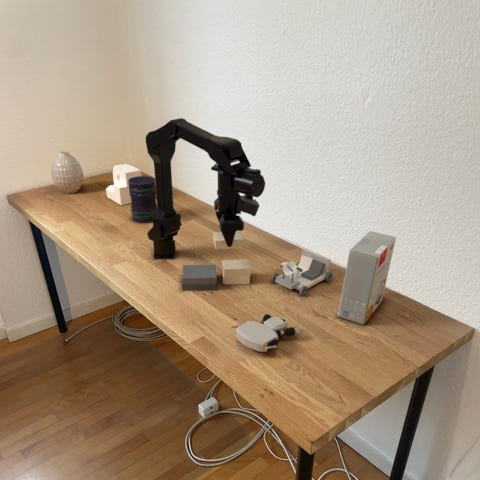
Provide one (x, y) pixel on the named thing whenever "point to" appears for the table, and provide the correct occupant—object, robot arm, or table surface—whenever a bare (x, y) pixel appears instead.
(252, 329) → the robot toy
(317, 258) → the toy car
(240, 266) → the beige block
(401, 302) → the table surface
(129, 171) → the tape dispenser
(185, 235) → the table surface
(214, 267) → the grey books
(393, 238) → the hard drive box
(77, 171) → the vase
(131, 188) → the storage jar
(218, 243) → the cream rectangular block
